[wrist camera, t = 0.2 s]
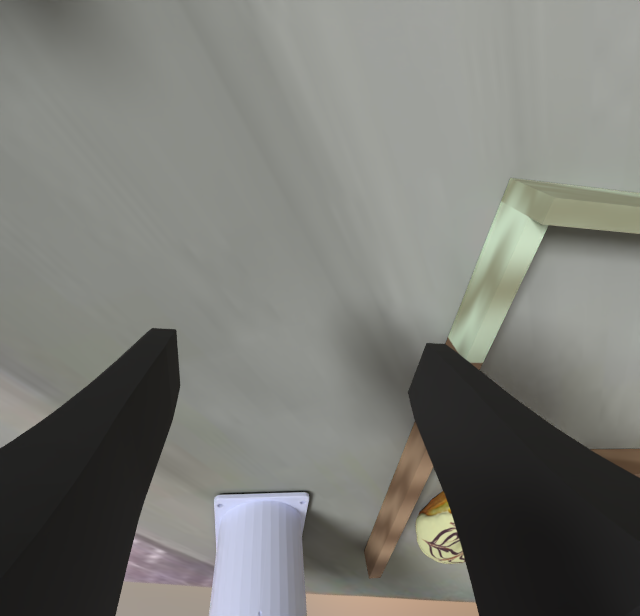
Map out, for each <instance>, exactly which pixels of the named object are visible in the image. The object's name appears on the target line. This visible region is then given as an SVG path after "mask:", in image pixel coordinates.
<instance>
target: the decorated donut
mask: <svg viewBox="0 0 640 616" xmlns="http://www.w3.org/2000/svg"><path fill="white" fill-rule="evenodd" d="M416 533H417V542H418V544H419V546H420V548H421V550H422V552H423V553H424V554H425V555H427V556H428V557H430V558H432V559H433V560H435V561H437V562H440V563H444V564H454V563H463V562H465V558H464V554H463V551H462V547H461V543H460V540H459V537H458V533H457V530H456V527H455V524H454V520H453V517H452V514H451V510H450V507H449V505H448V502H447V499H446V496H445V494H444V491H443V492H441V493H440V494H439V495H437V496H436V497H435V498H433V499H432V500H431V501H430V502H429V504H428V505H427V506H426V507H425V508H424V509H423V510H422V511H421V512H420V513H419V516H418V517H417V519H416Z"/></svg>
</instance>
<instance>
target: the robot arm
mask: <svg viewBox="0 0 640 616" xmlns="http://www.w3.org/2000/svg"><path fill="white" fill-rule="evenodd" d="M179 389H180V376H179V362H178V348H177V335H176V330H175V329H157V328H152V329H151V330H149V331H148V332H147V333H146V334H145V335H144V336H143V337H141V338H140V339H139V340H138V341H137V342H136V343H135V344H134V345H133V346H132V347H131V348H130V349H129V350H128V351H126V352H125V353H124V354H123V355H122V356H121V357H120V358H119V359H118V360H117V361H115V362H114V363H113V364H112V365H111V366H110V367H109V368H107V369H106V370H105V371H104V372H103V373H102V374H100V375H99V376H98V377H97V378H96V379H95V380H94V381H92V382H91V383H90V384H89V385H88V386H86V387H85V388H84V389H82V390H81V391H80V392H79V393H77V394H76V395H75V396H74V397H72V398H71V399H70V400H69V401H67V402H66V403H65V404H64V405H62V406H61V407H60V408H58V409H57V410H56V411H54V412H53V413H52V414H50V415H49V416H48V417H46V418H45V419H43V420H42V421H41V422H39V423H38V424H36V425H35V426H34V427H32V428H31V429H29V430H28V431H26V432H25V433H23V434H22V435H20V436H19V437H17V438H16V439H14V440H13V441H11V442H10V443H8V444H7V445H5V446H3V447H2V448H0V616H115V615H116V611H117V606H118V602H119V598H120V594H121V589H122V585H123V581H124V577H125V572H126V568H127V564H128V560H129V556H130V552H131V548H132V544H133V540H134V536H135V532H136V528H137V524H138V520H139V517H140V513H141V510H142V507H143V504H144V500H145V497H146V495H147V492H148V489H149V486H150V483H151V480H152V478H153V475H154V472H155V469H156V466H157V463H158V461H159V458H160V455H161V452H162V449H163V446H164V444H165V441H166V438H167V435H168V432H169V429H170V426H171V423H172V420H173V416H174V412H175V408H176V403H177V398H178V394H179ZM408 394H409V398H410V403H411V407H412V411H413V414H414V418H415V422H416V425H417V427H418V430H419V432H420V435H421V437H422V440H423V442H424V445H425V447H426V450H427V452H428V455H429V457H430V460H431V462H432V464H433V467H434V469H435V472H436V474H437V477H438V479H439V481H440V484H441V486H442V489H443V491H444V494H445V496H446V499H447V502H448V505H449V507H450V510H451V514H452V517H453V520H454V524H455V527H456V530H457V533H458V537H459V540H460V543H461V547H462V551H463V554H464V558H465V562H466V565H467V569H468V573H469V576H470V580H471V584H472V588H473V592H474V596H475V600H476V604H477V608H478V612H479V616H640V478H639V477H637V476H636V475H634V474H632V473H630V472H628V471H627V470H625V469H623V468H621V467H619V466H618V465H616V464H614V463H612V462H611V461H609V460H607V459H605V458H603V457H602V456H600V455H598V454H597V453H595V452H593V451H592V450H590V449H588V448H587V447H585V446H583V445H582V444H580V443H579V442H577V441H576V440H574V439H572V438H571V437H569V436H568V435H566V434H565V433H563V432H562V431H560V430H558V429H557V428H555V427H554V426H553V425H551V424H550V423H548V422H547V421H545V420H544V419H542V418H541V417H540V416H538V415H537V414H535V413H534V412H533V411H531V410H530V409H529V408H527V407H526V406H524V405H523V404H522V403H520V402H519V401H518V400H516V399H515V398H514V397H512V396H511V395H510V394H509V393H507V392H506V391H505V390H503V389H502V388H501V387H500V386H498V385H497V384H496V383H495V382H493V381H492V380H491V379H490V378H488V377H487V376H486V375H485V374H483V373H482V372H481V371H480V370H478V369H477V368H476V367H475V366H473V365H472V364H471V363H470V362H469V361H467V360H466V359H465V358H463V357H462V356H461V355H460V354H458V353H457V352H456V351H454V350H453V349H452V348H450V347H449V346H447V345H446V344H433V343H427V344H426V346H425V349H424V351H423V354H422V357H421V359H420V362H419V365H418V367H417V370H416V372H415V375H414V378H413V380H412V383H411V386H410V388H409V391H408ZM308 503H309V494H308V493H306V492H292V493H260V494H228V495H217V496H216V497H215V500H214V509H215V530H216V551H217V552H216V560H215V569H214V577H213V586H212V594H211V603H210V611H209V616H307V613H306V612H307V611H306V595H305V578H304V562H303V546H302V533H303V528H304V523H305V518H306V513H307V508H308Z"/></svg>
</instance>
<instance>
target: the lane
mask: <svg viewBox="0 0 640 616" xmlns="http://www.w3.org/2000/svg"><path fill="white" fill-rule="evenodd" d="M549 225H553V226H564V227H574V228H584V229H595V230H605V231H615V232H626V233H636V234H640V193H634V192H626V191H617V190H609V189H600V188H592V187H583V186H575V185H566V184H558V183H549V182H541V181H532V180H524V179H515V178H510V180H509V183H508V185H507V188H506V190H505V193H504V196H503V198H502V201H501V203H500V206H499V208H498V211H497V213H496V216H495V218H494V221H493V224H492V226H491V229H490V231H489V234H488V236H487V239H486V241H485V244H484V247H483V249H482V252H481V254H480V257H479V259H478V262H477V264H476V267H475V270H474V272H473V275H472V277H471V280H470V282H469V285H468V287H467V290H466V292H465V295H464V298H463V300H462V303H461V305H460V308H459V310H458V313H457V315H456V318H455V321H454V323H453V326H452V328H451V331H450V333H449V336H448V338H447V341H446V345H447V346H449V347H450V348H452V349H453V350H454V351H456V352H457V353H458V354H460V355H461V356H462V357H463V358H465V359H466V360H467V361H469V362H470V363H471V364H472V365H473V366H475V367H476V368H477V369H478V370H480V368H481V366H482V364H483V362H484V360H485V358H486V355H487V353H488V351H489V349H490V347H491V345H492V343H493V341H494V339H495V337H496V335H497V332H498V330H499V328H500V326H501V324H502V322H503V320H504V318H505V316H506V314H507V311H508V309H509V307H510V305H511V303H512V301H513V299H514V297H515V295H516V293H517V291H518V288H519V286H520V284H521V282H522V280H523V278H524V276H525V274H526V272H527V270H528V268H529V265H530V263H531V261H532V259H533V257H534V255H535V253H536V251H537V249H538V247H539V244H540V242H541V240H542V238H543V236H544V234H545V232H546V230H547V228H548V226H549ZM590 450H592V451H593V452H595V453H597V454H598V455H600V456H602V457H603V458H605V459H607V460H609V461H611V462H612V463H614V464H616V465H618V466H619V467H621V468H623V469H625V470H627V471H628V472H630V473H632V474H634V475H636V476H637V477H639V478H640V449H590ZM432 468H433V464H432V462H431V460H430V457H429V455H428V452H427V450H426V447H425V445H424V442H423V440H422V437H421V435H420V432H419V430H418V427H417V425H416V422H415V423H414V425H413V428H412V430H411V433H410V435H409V438H408V441H407V443H406V446H405V448H404V451H403V453H402V456H401V458H400V461H399V463H398V466H397V469H396V471H395V474H394V476H393V479H392V481H391V484H390V486H389V489H388V492H387V494H386V497H385V499H384V502H383V504H382V507H381V509H380V512H379V515H378V517H377V520H376V522H375V525H374V527H373V530H372V532H371V535H370V538H369V540H368V543H367V545H366V548H365V550H364V554H365V559H366V565H367V570H368V575H369V578H380V577H381V575H382V573H383V571H384V569H385V567H386V565H387V563H388V561H389V559H390V556H391V554H392V552H393V550H394V548H395V546H396V544H397V542H398V540H399V538H400V535H401V533H402V531H403V529H404V527H405V525H406V523H407V521H408V519H409V517H410V515H411V512H412V510H413V508H414V506H415V504H416V502H417V500H418V498H419V496H420V494H421V492H422V489H423V487H424V485H425V483H426V481H427V479H428V477H429V475H430V473H431V471H432Z"/></svg>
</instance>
